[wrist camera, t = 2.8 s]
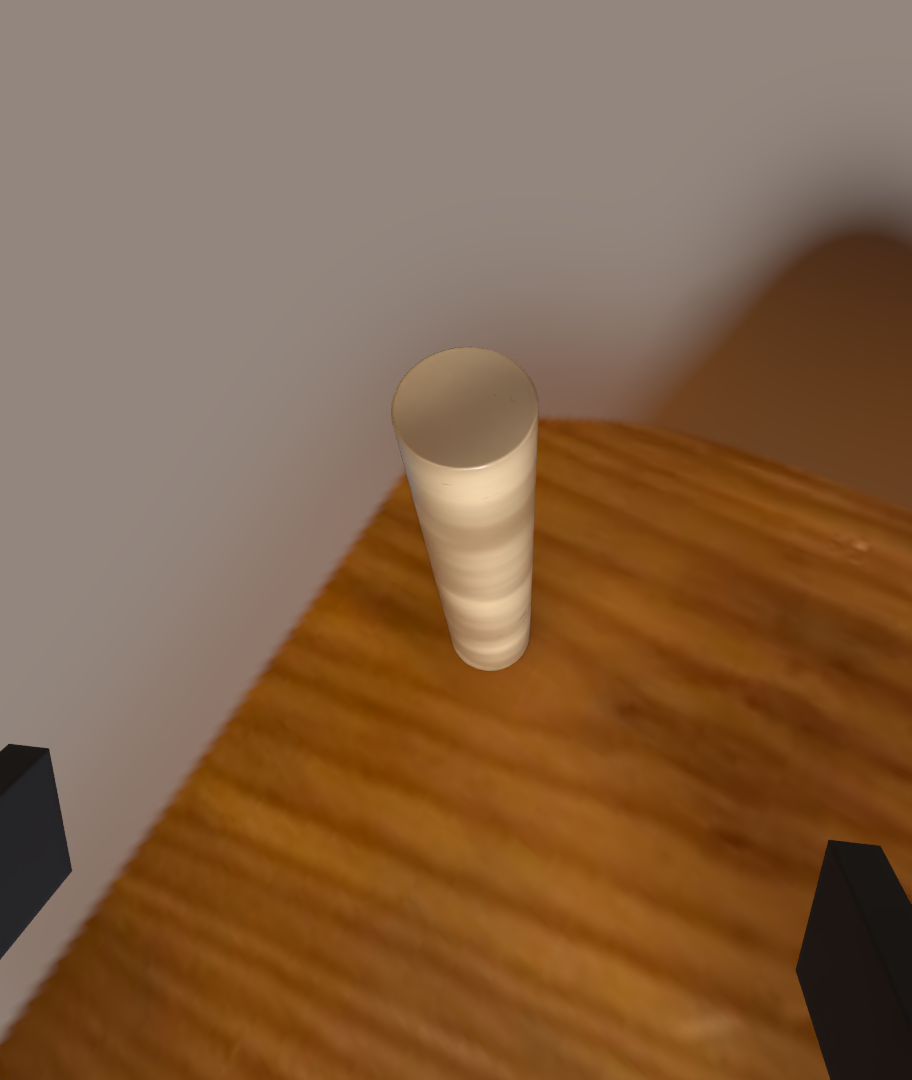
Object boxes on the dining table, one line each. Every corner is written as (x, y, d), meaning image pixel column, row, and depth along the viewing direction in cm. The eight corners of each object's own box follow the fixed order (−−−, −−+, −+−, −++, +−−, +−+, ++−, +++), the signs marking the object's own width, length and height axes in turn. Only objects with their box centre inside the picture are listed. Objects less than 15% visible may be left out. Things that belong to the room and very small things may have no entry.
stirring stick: (436, 623, 31) (363, 392, 17) (500, 581, 32) (483, 322, 17) (479, 686, 30) (442, 496, 16) (545, 642, 31) (569, 418, 16)
